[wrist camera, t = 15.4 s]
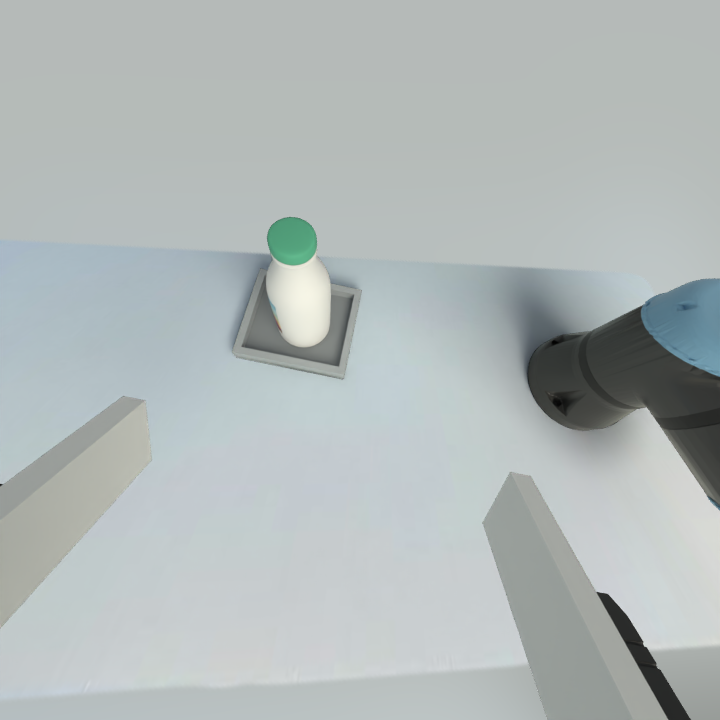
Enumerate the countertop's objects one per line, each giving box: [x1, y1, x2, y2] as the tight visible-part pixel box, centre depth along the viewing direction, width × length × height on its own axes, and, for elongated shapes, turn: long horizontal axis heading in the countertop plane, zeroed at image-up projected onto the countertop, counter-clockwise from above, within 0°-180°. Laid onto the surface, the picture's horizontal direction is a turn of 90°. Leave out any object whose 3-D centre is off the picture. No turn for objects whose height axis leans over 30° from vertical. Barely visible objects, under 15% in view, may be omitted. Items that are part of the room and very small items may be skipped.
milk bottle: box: [266, 217, 331, 347], centre depth 39 cm, size 8×8×20 cm
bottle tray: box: [232, 268, 362, 379], centre depth 49 cm, size 16×14×2 cm
